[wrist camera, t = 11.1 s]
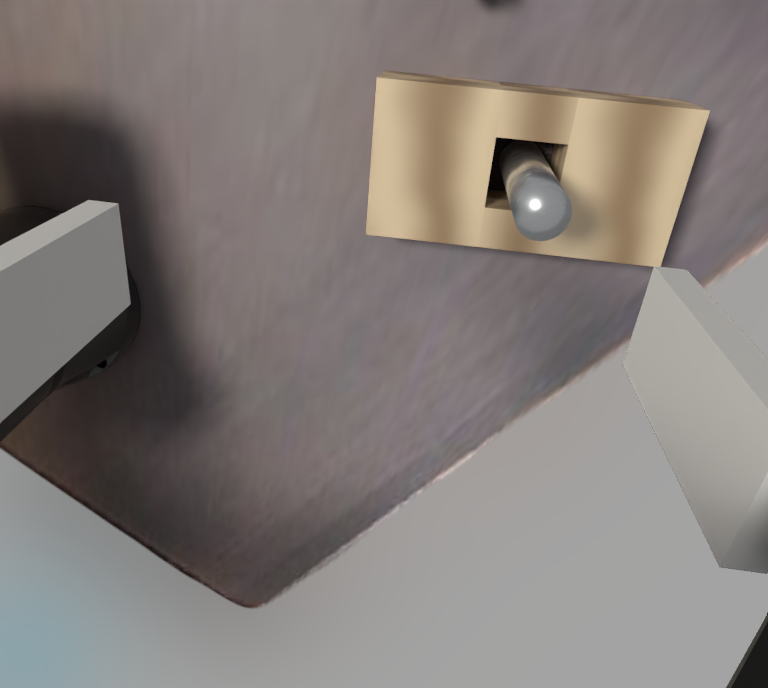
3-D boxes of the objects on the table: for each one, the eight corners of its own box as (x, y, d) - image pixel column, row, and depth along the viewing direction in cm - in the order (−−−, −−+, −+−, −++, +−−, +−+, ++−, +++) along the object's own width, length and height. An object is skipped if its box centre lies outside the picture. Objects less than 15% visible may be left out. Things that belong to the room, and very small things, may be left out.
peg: (495, 179, 45) (509, 237, 33) (503, 137, 43) (520, 182, 32) (537, 184, 45) (564, 244, 33) (546, 142, 43) (578, 189, 32)
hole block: (374, 213, 47) (365, 234, 42) (385, 70, 42) (376, 77, 38) (640, 242, 46) (660, 267, 41) (682, 100, 41) (710, 110, 37)
